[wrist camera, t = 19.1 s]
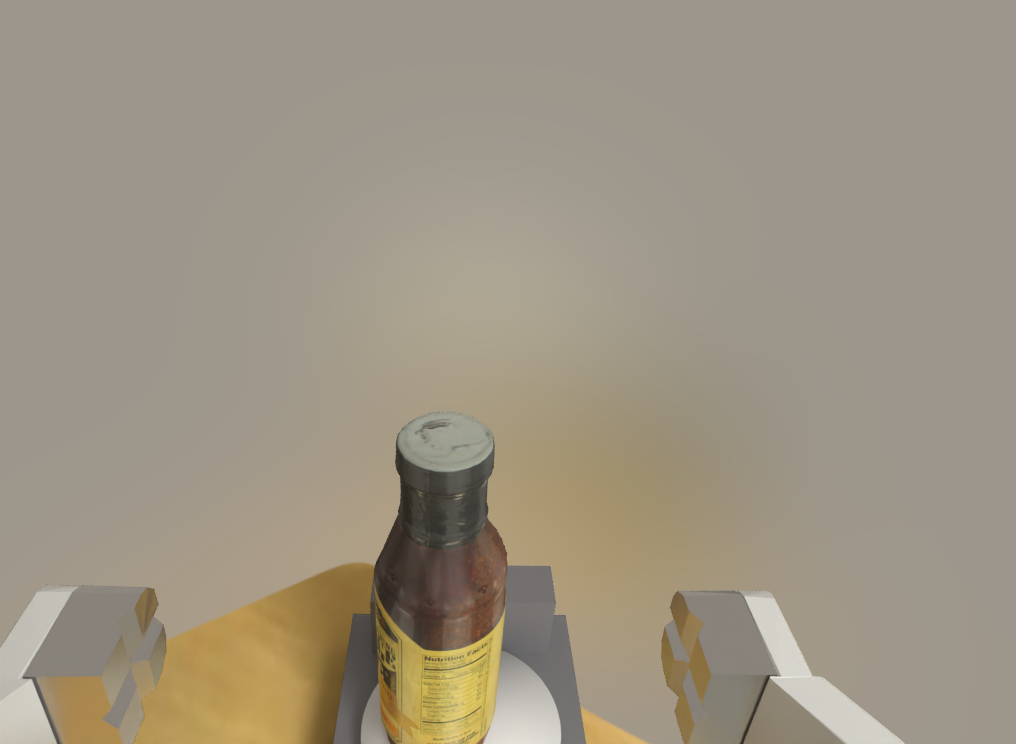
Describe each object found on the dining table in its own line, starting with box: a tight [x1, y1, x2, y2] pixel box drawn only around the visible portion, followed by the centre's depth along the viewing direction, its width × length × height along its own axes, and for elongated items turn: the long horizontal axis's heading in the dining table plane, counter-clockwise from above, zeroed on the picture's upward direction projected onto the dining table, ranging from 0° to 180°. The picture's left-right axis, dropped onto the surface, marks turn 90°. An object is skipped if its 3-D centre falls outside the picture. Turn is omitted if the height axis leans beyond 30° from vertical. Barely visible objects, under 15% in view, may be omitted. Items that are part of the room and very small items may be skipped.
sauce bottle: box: [374, 412, 508, 744], centre depth 35 cm, size 7×6×20 cm
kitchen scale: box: [333, 564, 586, 744], centre depth 42 cm, size 14×14×8 cm
